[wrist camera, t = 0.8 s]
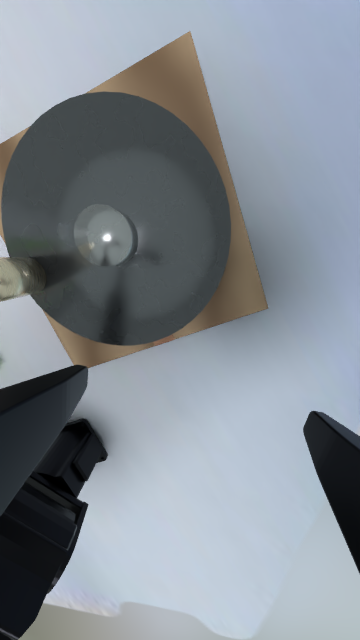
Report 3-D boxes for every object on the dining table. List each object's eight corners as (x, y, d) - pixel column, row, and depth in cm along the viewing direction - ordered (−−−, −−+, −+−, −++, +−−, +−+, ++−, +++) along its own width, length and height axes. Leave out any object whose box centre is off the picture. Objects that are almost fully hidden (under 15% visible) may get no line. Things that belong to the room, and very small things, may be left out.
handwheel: (75, 363, 22) (36, 397, 17) (-30, 175, 17) (-128, 141, 12) (254, 302, 19) (277, 320, 13) (181, 53, 14) (171, -65, 9)
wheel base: (86, 362, 24) (76, 372, 22) (-15, 175, 20) (-41, 165, 17) (261, 303, 21) (268, 308, 19) (191, 57, 16) (189, 27, 14)
